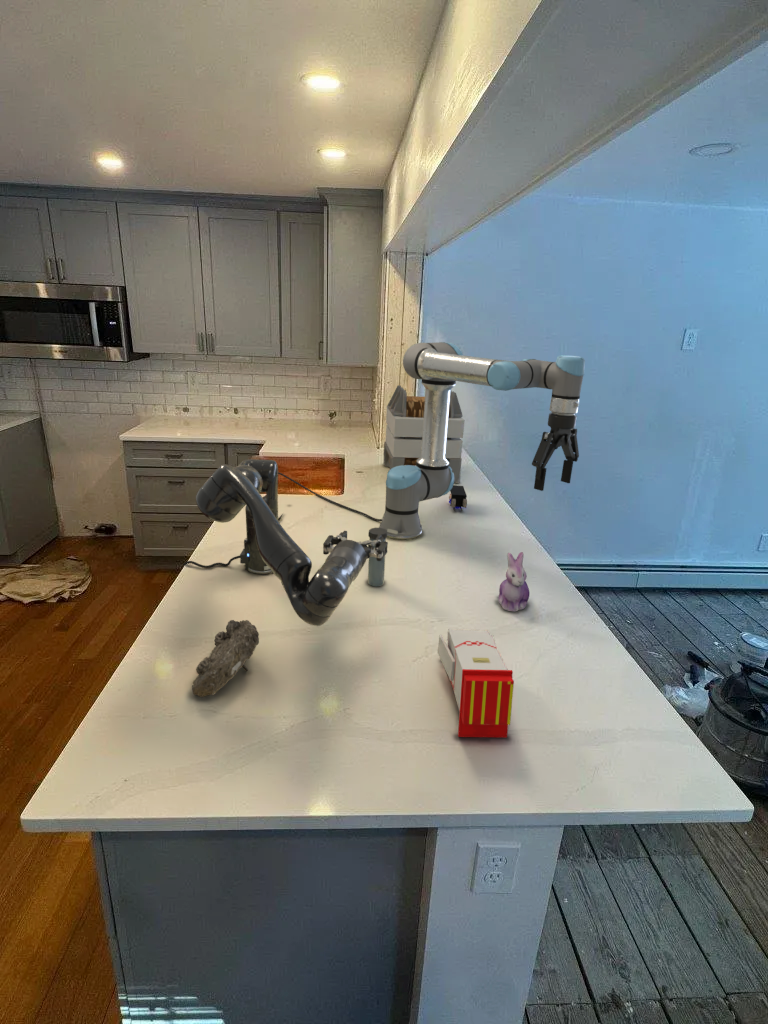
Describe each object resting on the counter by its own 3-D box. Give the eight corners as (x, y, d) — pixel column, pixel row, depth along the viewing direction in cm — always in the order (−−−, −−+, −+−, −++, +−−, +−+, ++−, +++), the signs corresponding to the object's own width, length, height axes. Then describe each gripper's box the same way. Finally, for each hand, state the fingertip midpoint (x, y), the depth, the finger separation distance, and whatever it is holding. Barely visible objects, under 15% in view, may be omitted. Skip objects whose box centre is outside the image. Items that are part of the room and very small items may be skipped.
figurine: (511, 616, 149) (518, 564, 143) (487, 598, 157) (493, 549, 152) (539, 609, 153) (547, 558, 148) (514, 592, 161) (521, 544, 156)
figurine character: (467, 516, 223) (461, 500, 237) (469, 499, 220) (463, 483, 233) (450, 516, 223) (446, 499, 236) (452, 498, 220) (447, 483, 233)
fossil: (211, 622, 131) (258, 592, 126) (240, 650, 134) (286, 622, 129) (171, 690, 112) (224, 658, 107) (205, 721, 115) (258, 691, 110)
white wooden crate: (382, 463, 289) (386, 382, 275) (445, 464, 293) (451, 384, 279) (390, 482, 257) (394, 392, 243) (460, 483, 261) (468, 394, 247)
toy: (488, 613, 130) (523, 677, 101) (484, 667, 133) (517, 744, 104) (435, 612, 130) (455, 676, 101) (432, 666, 133) (451, 743, 103)
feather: (290, 508, 223) (292, 504, 223) (272, 532, 197) (275, 527, 196) (286, 505, 223) (289, 501, 223) (268, 529, 197) (271, 525, 196)
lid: (380, 531, 162) (380, 526, 162) (390, 537, 158) (391, 532, 158) (364, 534, 159) (364, 529, 159) (375, 541, 155) (375, 535, 155)
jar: (377, 577, 167) (380, 528, 162) (387, 584, 163) (389, 533, 158) (364, 581, 164) (366, 531, 159) (373, 587, 161) (375, 536, 155)
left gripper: (313, 574, 125) (334, 547, 140) (376, 583, 122) (391, 553, 137) (312, 543, 122) (334, 518, 137) (377, 551, 119) (392, 524, 134)
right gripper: (548, 419, 148) (537, 496, 155) (598, 411, 163) (586, 482, 171) (525, 414, 153) (515, 489, 160) (575, 407, 169) (564, 476, 176)
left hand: (362, 536), depth 137 cm, fingers open, 8 cm apart
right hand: (552, 485), depth 166 cm, fingers open, 13 cm apart
